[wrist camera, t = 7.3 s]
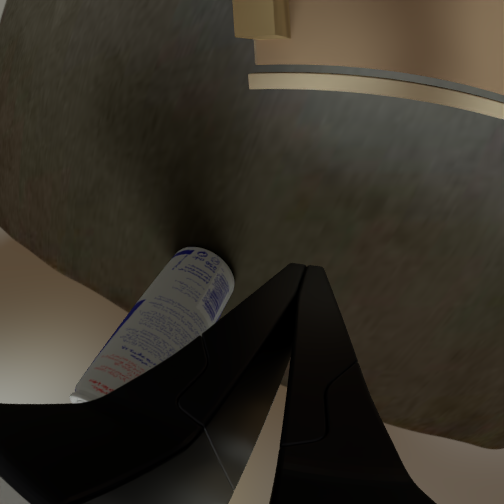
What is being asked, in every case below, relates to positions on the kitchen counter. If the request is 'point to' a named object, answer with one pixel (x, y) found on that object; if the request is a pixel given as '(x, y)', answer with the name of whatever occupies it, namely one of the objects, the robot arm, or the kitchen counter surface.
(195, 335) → the beverage can
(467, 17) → the lid
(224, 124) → the kitchen counter surface
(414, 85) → the box
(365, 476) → the robot arm
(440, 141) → the kitchen counter surface
